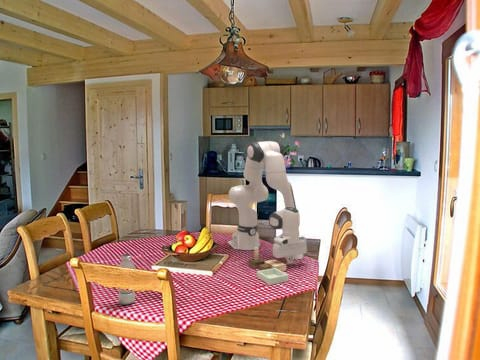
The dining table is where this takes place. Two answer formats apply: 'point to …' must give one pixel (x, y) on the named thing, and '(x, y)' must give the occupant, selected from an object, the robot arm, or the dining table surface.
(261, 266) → the small brown block
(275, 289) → the dining table surface
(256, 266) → the socket block
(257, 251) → the dowel
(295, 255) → the cup
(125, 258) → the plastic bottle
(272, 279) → the tray
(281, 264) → the board
